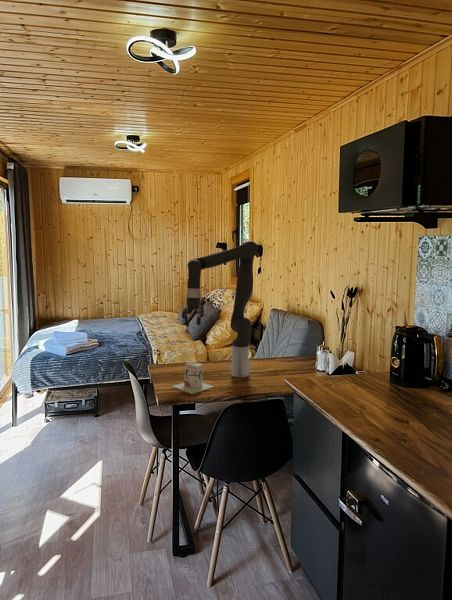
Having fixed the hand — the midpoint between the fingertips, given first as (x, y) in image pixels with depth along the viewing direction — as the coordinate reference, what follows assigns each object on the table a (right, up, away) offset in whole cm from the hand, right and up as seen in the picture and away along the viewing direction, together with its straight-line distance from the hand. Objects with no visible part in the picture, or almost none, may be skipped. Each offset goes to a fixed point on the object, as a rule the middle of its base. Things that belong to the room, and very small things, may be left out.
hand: (192, 325), depth 256 cm
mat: (+1, -31, -17) cm, 35 cm away
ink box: (+2, -30, -17) cm, 35 cm away
